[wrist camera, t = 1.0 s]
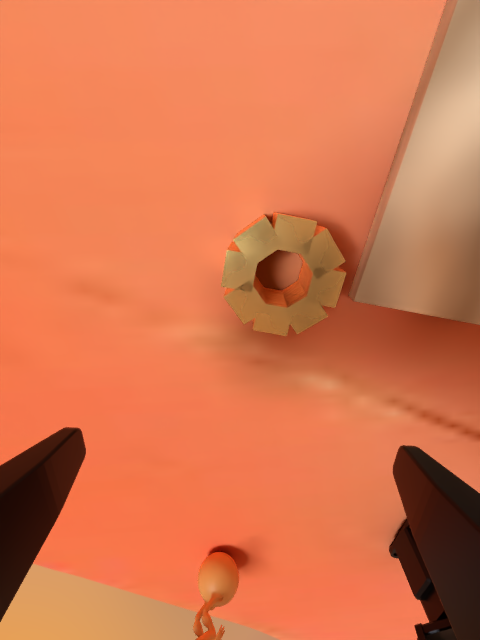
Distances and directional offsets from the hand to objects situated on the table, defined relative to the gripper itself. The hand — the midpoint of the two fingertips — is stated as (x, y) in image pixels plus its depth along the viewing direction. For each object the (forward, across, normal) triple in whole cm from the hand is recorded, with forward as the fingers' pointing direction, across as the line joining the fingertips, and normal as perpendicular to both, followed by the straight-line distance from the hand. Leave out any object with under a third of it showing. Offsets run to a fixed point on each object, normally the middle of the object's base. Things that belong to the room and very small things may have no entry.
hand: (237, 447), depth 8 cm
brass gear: (+12, -2, -3) cm, 13 cm away
